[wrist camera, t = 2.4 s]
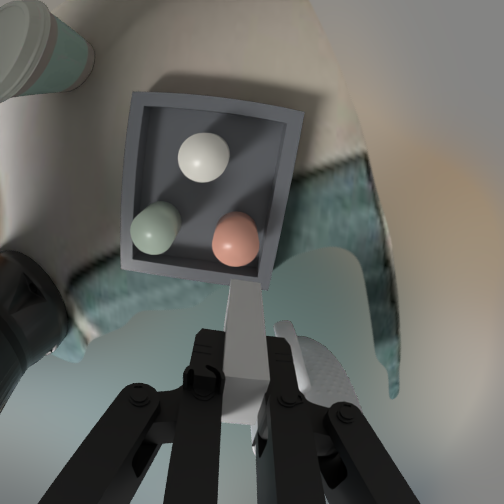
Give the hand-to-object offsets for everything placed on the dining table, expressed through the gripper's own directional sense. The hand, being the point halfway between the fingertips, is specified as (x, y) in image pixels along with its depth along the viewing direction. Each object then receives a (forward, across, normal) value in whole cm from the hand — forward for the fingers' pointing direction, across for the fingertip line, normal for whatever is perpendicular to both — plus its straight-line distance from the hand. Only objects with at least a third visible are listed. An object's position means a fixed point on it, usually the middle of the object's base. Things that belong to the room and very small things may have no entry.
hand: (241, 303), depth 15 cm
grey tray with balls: (+14, -4, +3) cm, 14 cm away
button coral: (+11, -1, 0) cm, 11 cm away
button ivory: (+11, -4, +6) cm, 13 cm away
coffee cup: (+14, -20, +14) cm, 28 cm away
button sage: (+11, -7, 0) cm, 13 cm away
